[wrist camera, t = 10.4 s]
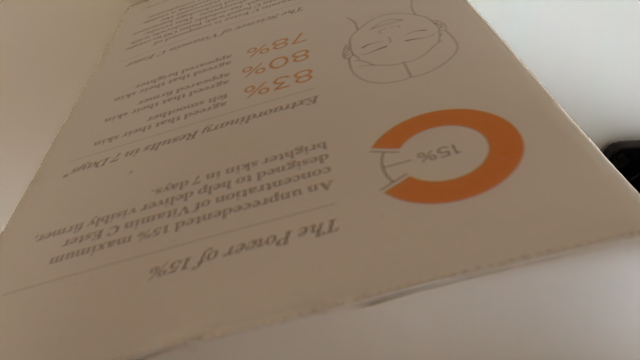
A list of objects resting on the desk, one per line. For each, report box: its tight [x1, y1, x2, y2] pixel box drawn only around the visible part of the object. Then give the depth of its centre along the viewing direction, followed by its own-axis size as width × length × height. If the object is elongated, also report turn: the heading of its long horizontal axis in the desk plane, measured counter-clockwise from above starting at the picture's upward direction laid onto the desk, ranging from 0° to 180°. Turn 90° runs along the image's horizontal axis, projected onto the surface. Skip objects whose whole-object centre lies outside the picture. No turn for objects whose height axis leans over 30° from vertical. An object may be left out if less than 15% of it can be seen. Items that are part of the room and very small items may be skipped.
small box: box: [0, 0, 640, 360], centre depth 13 cm, size 8×6×13 cm
